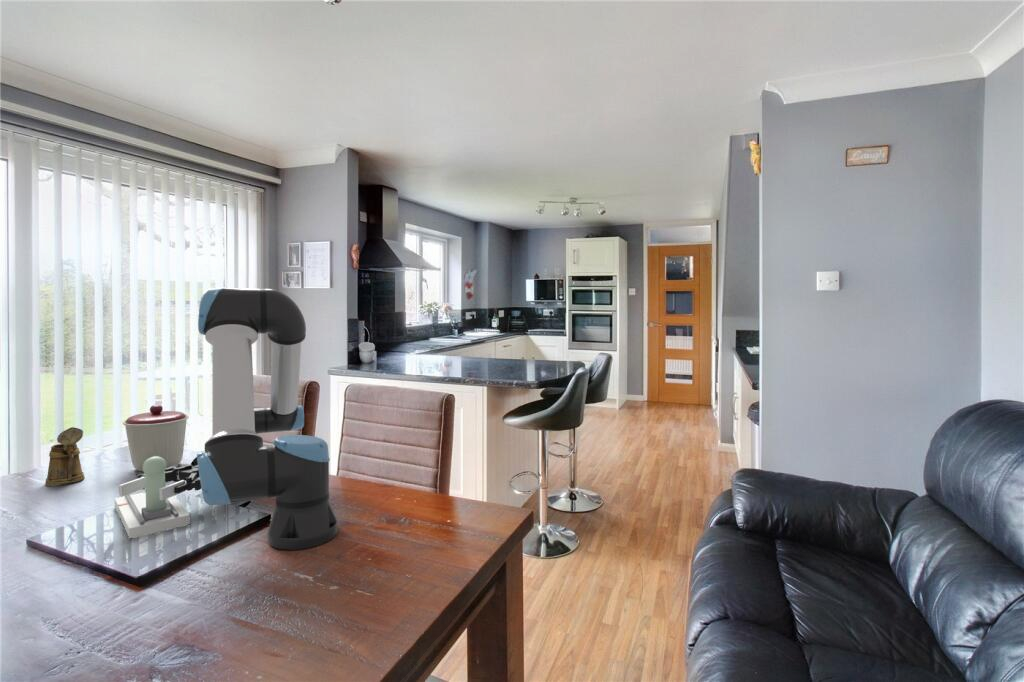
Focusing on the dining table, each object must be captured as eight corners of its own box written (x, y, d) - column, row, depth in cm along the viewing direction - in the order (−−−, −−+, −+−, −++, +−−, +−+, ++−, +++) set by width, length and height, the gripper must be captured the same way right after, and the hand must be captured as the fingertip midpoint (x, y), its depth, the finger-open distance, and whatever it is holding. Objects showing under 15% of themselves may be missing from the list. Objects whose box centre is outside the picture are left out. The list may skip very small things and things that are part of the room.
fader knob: (171, 514, 126) (169, 456, 125) (145, 520, 123) (143, 461, 122) (166, 508, 130) (165, 452, 129) (141, 514, 126) (139, 456, 125)
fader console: (189, 524, 127) (189, 511, 127) (129, 539, 119) (128, 525, 118) (168, 496, 146) (167, 485, 146) (114, 507, 138) (114, 495, 137)
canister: (137, 462, 178) (134, 401, 177) (196, 458, 184) (194, 399, 183) (114, 478, 161) (111, 411, 160) (180, 473, 167) (178, 408, 165)
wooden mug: (55, 491, 149) (52, 430, 148) (41, 482, 157) (38, 423, 156) (93, 483, 156) (90, 424, 155) (78, 475, 164) (76, 419, 163)
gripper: (249, 482, 141) (182, 512, 120) (177, 476, 146) (100, 504, 124) (248, 454, 141) (181, 480, 119) (176, 449, 146) (99, 473, 124)
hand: (140, 492), depth 122 cm, fingers open, 11 cm apart
